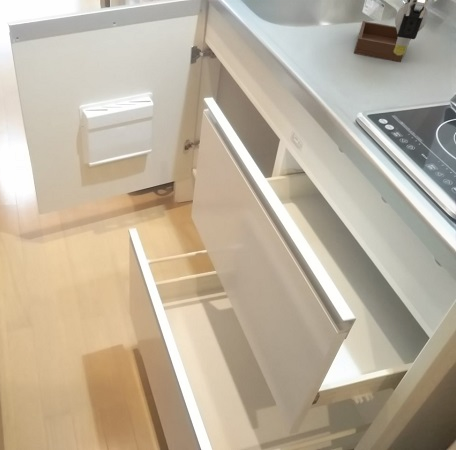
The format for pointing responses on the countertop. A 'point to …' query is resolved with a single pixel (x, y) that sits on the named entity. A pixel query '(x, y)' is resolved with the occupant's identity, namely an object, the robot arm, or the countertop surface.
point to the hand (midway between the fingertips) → (406, 30)
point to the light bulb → (401, 42)
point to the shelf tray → (377, 41)
